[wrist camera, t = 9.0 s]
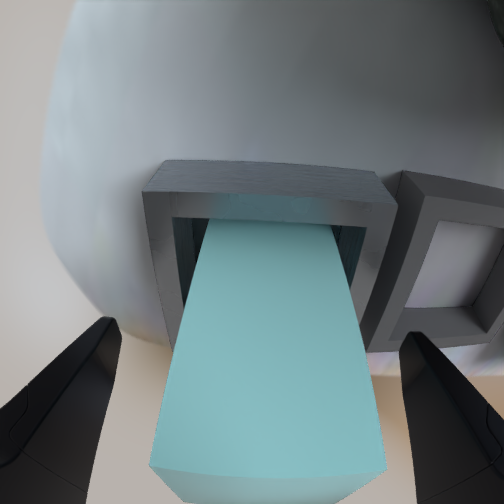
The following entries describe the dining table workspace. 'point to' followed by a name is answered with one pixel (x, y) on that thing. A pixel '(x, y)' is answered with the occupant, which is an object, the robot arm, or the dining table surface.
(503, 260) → the grey square frame
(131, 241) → the dining table surface
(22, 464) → the robot arm
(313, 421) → the plug
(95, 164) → the dining table surface
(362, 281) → the port block
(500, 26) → the squash
